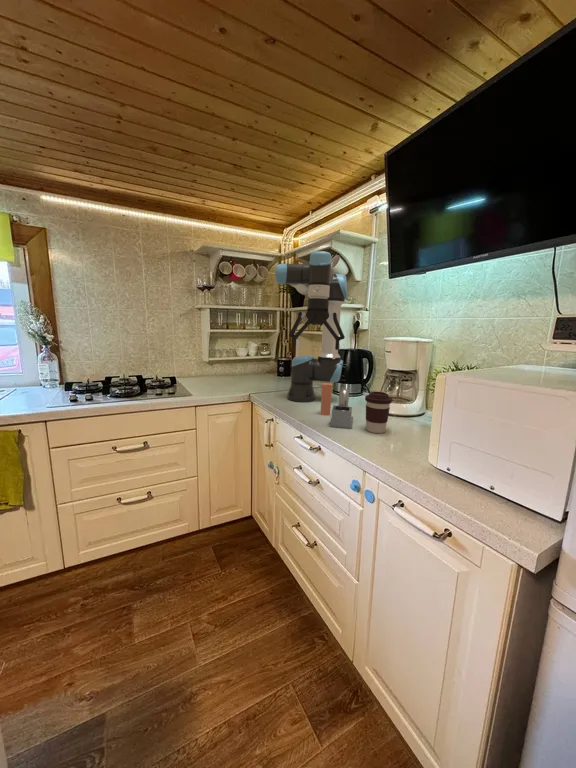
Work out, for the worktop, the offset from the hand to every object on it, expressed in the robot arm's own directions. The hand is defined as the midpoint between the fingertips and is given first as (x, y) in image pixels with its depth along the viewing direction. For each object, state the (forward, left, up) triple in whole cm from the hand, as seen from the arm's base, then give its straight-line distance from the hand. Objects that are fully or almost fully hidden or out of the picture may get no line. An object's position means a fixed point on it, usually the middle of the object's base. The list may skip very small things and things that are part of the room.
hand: (315, 357), depth 118 cm
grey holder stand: (-14, +11, -28) cm, 33 cm away
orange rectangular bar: (-24, +3, -28) cm, 37 cm away
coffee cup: (-8, +24, -28) cm, 38 cm away
